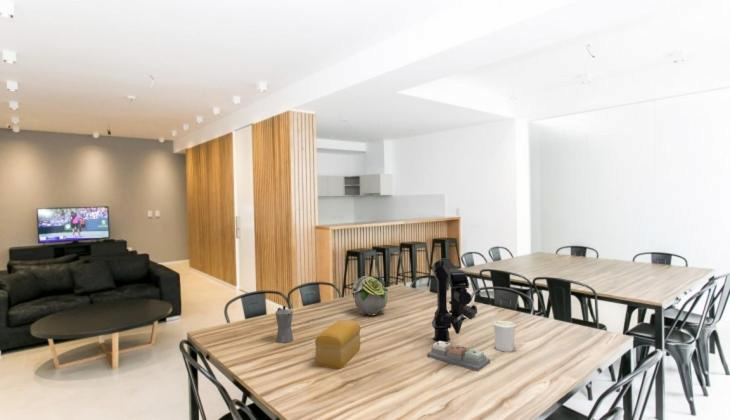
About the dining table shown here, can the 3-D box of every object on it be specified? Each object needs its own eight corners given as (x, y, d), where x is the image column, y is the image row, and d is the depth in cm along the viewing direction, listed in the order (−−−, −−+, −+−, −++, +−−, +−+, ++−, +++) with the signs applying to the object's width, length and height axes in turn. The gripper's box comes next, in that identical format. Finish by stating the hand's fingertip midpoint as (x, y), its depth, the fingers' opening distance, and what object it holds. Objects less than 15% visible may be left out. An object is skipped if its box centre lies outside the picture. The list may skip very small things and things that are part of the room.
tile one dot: (464, 358, 173) (464, 352, 173) (471, 354, 178) (471, 348, 177) (477, 361, 169) (477, 355, 169) (483, 357, 174) (483, 351, 174)
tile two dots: (433, 349, 184) (433, 343, 184) (440, 345, 188) (439, 340, 188) (444, 352, 180) (444, 346, 180) (451, 348, 184) (451, 343, 184)
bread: (337, 346, 197) (336, 316, 197) (361, 349, 193) (360, 318, 193) (314, 365, 174) (314, 332, 174) (341, 369, 170) (341, 335, 170)
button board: (427, 356, 182) (427, 349, 182) (440, 349, 191) (440, 341, 191) (477, 371, 166) (477, 363, 166) (490, 362, 175) (489, 354, 175)
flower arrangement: (345, 311, 259) (345, 274, 259) (379, 306, 270) (379, 271, 269) (361, 321, 237) (360, 281, 236) (397, 316, 247) (397, 277, 247)
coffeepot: (298, 341, 204) (297, 307, 204) (280, 345, 199) (280, 310, 199) (286, 333, 217) (286, 301, 217) (270, 337, 212) (269, 303, 211)
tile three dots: (448, 353, 178) (448, 347, 178) (455, 349, 183) (455, 344, 183) (460, 357, 174) (460, 351, 174) (467, 353, 179) (467, 347, 179)
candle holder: (501, 353, 185) (501, 328, 185) (489, 346, 194) (489, 321, 194) (519, 351, 187) (519, 325, 187) (507, 343, 197) (506, 320, 197)
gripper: (463, 306, 166) (464, 343, 166) (483, 297, 180) (483, 331, 180) (440, 302, 173) (441, 337, 173) (461, 294, 187) (461, 327, 187)
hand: (457, 333), depth 178 cm, fingers closed
